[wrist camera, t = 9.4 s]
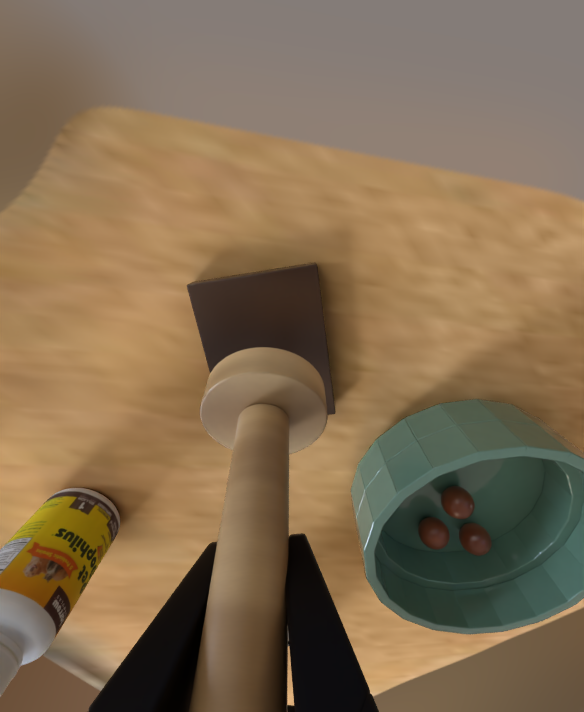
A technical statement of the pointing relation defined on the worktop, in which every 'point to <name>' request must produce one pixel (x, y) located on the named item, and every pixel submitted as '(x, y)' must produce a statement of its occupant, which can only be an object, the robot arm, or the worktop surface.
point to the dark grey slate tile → (264, 316)
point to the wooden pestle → (253, 525)
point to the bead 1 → (433, 533)
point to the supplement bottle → (49, 572)
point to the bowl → (473, 518)
